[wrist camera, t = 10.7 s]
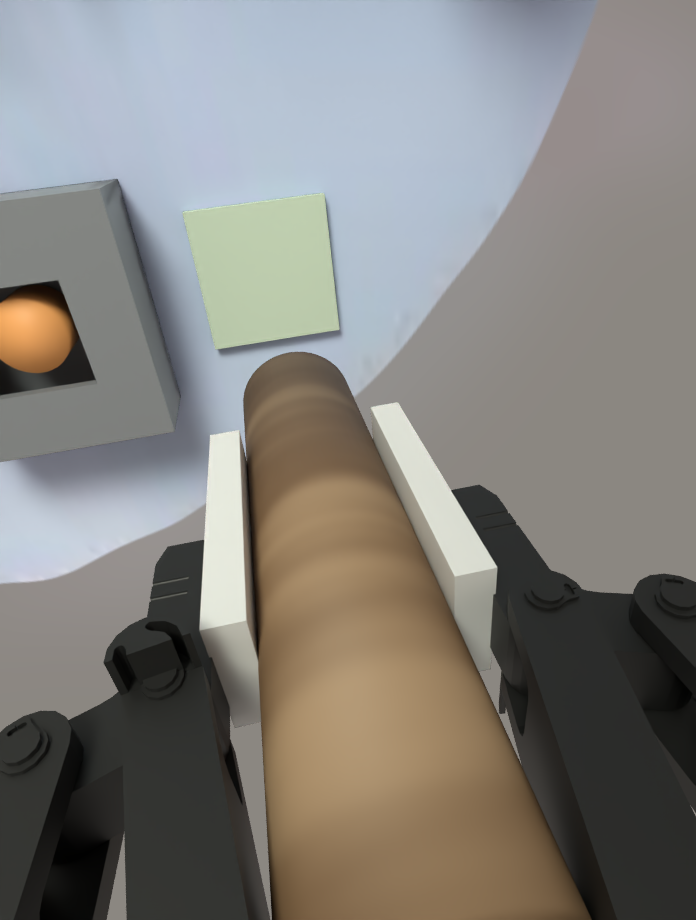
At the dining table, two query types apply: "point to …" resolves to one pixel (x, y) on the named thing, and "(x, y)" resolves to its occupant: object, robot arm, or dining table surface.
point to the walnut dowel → (373, 690)
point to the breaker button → (36, 329)
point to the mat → (264, 269)
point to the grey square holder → (83, 325)
